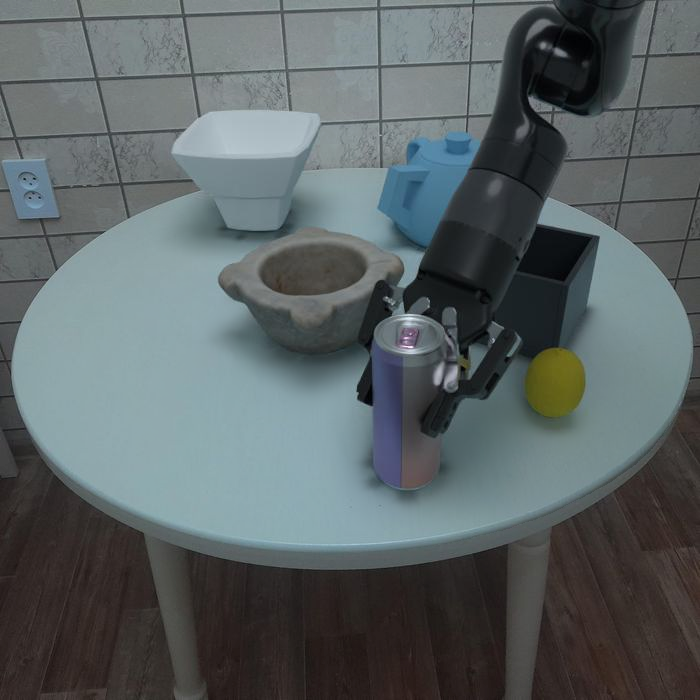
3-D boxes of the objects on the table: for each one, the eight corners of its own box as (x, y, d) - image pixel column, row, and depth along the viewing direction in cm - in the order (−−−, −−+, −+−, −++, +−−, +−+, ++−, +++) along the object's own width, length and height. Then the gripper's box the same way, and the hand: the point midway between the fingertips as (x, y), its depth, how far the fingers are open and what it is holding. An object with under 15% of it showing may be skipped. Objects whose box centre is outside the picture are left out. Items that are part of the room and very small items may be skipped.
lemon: (509, 415, 71) (517, 348, 66) (543, 390, 74) (553, 325, 69) (556, 443, 68) (568, 375, 63) (589, 416, 71) (604, 349, 66)
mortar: (214, 335, 84) (202, 266, 79) (320, 280, 93) (316, 215, 88) (312, 398, 74) (306, 324, 69) (419, 330, 84) (421, 260, 78)
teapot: (376, 250, 100) (376, 153, 92) (401, 195, 115) (403, 108, 107) (517, 264, 96) (530, 164, 88) (524, 205, 111) (536, 115, 103)
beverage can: (366, 488, 64) (364, 349, 55) (380, 442, 68) (380, 308, 60) (434, 498, 62) (442, 359, 54) (443, 451, 67) (452, 316, 58)
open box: (586, 309, 86) (600, 235, 81) (555, 364, 78) (569, 286, 72) (487, 285, 91) (494, 214, 86) (448, 334, 83) (453, 259, 77)
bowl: (331, 198, 115) (327, 110, 106) (307, 256, 99) (301, 158, 91) (217, 194, 117) (205, 108, 109) (177, 250, 102) (159, 154, 93)
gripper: (394, 198, 61) (308, 377, 61) (549, 244, 54) (452, 450, 53) (427, 232, 68) (350, 394, 67) (570, 278, 60) (484, 462, 59)
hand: (395, 418), depth 60 cm, fingers closed on beverage can, 6 cm apart
